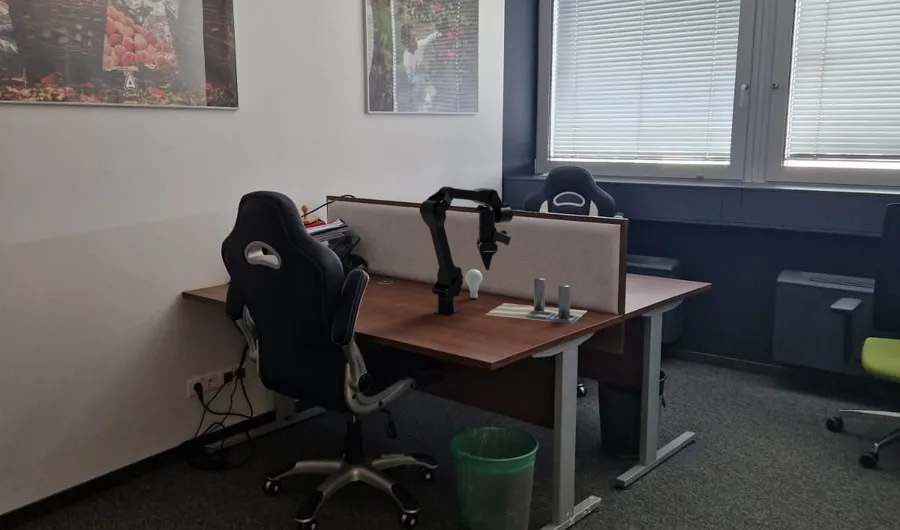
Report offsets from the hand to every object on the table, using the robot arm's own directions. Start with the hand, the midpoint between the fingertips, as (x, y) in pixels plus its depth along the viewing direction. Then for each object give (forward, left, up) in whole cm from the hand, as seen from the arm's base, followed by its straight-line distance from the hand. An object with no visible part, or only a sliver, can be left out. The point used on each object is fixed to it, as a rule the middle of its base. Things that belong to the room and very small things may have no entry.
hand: (486, 267), depth 267 cm
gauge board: (-10, -22, -13) cm, 28 cm away
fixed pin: (-15, -33, -12) cm, 39 cm away
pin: (-7, -22, -12) cm, 26 cm away
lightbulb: (+7, +8, -13) cm, 17 cm away
